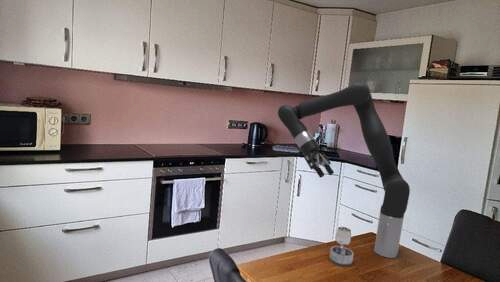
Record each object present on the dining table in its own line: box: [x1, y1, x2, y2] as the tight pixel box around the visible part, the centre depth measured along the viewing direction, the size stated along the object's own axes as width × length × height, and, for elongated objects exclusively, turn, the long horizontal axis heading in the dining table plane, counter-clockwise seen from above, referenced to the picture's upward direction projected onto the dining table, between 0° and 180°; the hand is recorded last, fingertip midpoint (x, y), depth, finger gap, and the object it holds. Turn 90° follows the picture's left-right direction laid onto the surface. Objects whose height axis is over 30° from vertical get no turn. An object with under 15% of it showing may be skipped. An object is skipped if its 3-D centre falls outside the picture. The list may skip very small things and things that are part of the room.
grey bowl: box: [329, 245, 355, 267], centre depth 132 cm, size 9×9×4 cm
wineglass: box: [335, 226, 352, 255], centre depth 132 cm, size 6×6×12 cm
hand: (327, 175), depth 141 cm, fingers open, 8 cm apart
